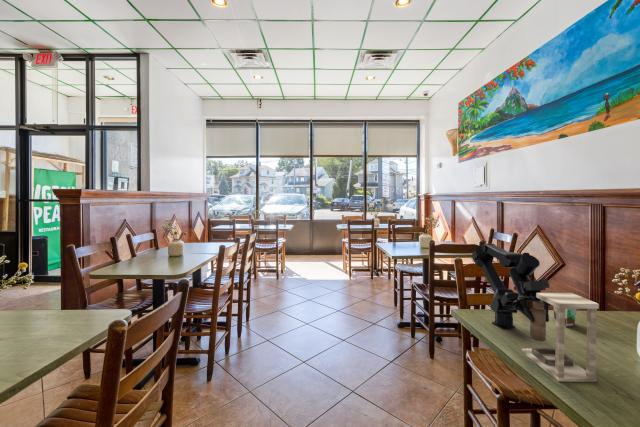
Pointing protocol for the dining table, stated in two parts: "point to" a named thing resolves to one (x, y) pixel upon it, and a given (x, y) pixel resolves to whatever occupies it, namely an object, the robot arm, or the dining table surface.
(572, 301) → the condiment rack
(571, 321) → the food container
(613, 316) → the dining table surface
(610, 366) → the dining table surface
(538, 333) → the pepper mill
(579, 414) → the dining table surface
